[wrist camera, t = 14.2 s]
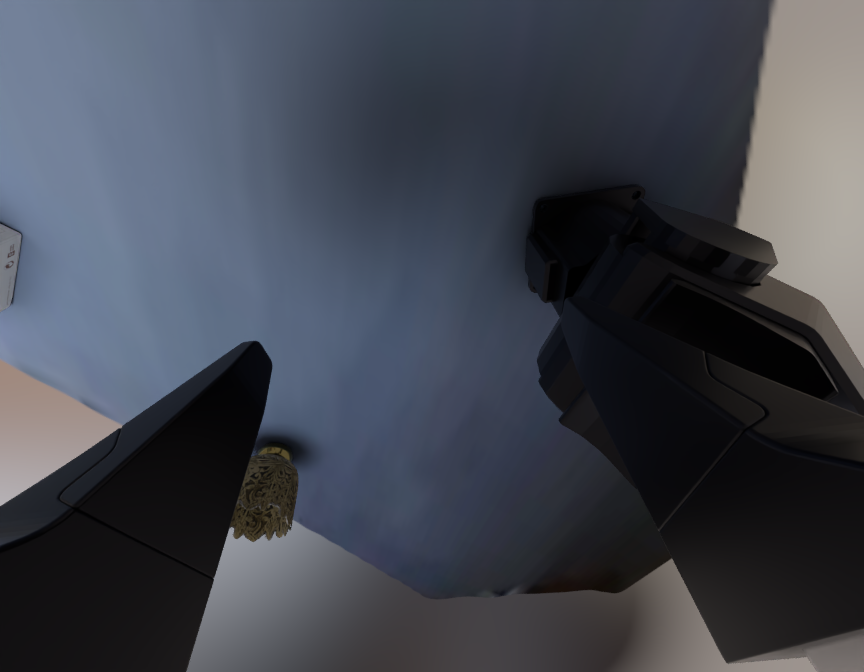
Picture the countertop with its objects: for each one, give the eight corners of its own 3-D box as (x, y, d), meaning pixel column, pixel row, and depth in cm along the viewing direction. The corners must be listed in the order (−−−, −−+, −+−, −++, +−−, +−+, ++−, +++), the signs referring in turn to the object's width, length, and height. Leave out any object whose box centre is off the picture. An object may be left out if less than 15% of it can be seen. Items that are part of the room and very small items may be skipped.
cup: (326, 452, 37) (307, 529, 30) (282, 472, 39) (257, 547, 33) (271, 420, 33) (237, 501, 26) (227, 445, 35) (186, 524, 29)
